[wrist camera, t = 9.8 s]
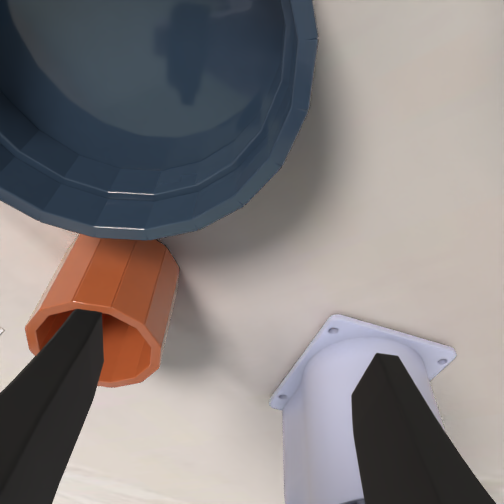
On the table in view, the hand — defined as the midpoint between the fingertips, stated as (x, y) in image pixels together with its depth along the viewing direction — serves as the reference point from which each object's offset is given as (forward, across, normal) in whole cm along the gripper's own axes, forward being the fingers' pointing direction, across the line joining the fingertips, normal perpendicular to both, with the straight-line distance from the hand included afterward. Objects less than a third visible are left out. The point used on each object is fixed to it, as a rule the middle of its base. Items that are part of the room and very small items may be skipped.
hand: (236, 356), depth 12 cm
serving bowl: (+9, +5, -5) cm, 12 cm away
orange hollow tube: (+9, +5, +7) cm, 13 cm away
